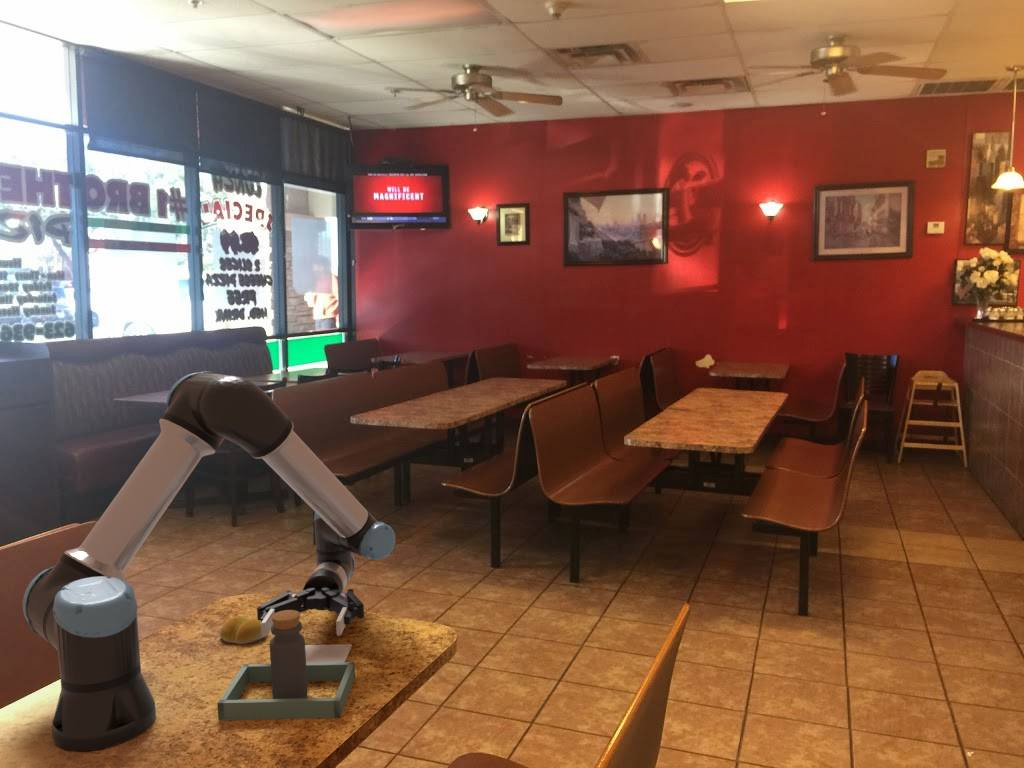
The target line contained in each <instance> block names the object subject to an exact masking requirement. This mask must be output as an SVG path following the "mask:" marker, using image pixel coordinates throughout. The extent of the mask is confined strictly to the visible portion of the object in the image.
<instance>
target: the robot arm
mask: <svg viewBox="0 0 1024 768" xmlns="http://www.w3.org/2000/svg"><path fill="white" fill-rule="evenodd" d="M166 397H167V399H166V410H165V412H164V413H163V415H162V416H161V418H160V419H159V421H158V423H159V427H160V433H159V435H158V436H157V438H156V439H155V440H154V442H153V443H152V445H151V446H150V448H149V449H148V451H146V453H145V454H144V456H143V458H142V459H141V460H140V462H139V463H138V464H137V466H136V467H135V468H134V470H133V472H132V473H131V474H130V476H129V477H128V479H127V480H126V481H125V483H124V484H123V485H122V486H121V489H120V490H119V491H118V492H117V494H116V495H115V497H114V498H113V499H112V501H110V504H109V505H108V507H107V508H106V509H105V511H104V512H103V513H102V515H101V516H100V517H99V519H98V520H97V522H96V523H95V525H94V526H93V527H92V529H91V530H90V532H89V533H88V534H87V536H86V537H85V539H84V540H83V541H82V543H81V544H80V546H78V547H75V548H72V549H68V550H66V551H65V550H64V553H62V555H61V556H60V558H59V559H58V560H57V561H56V564H55V565H54V566H51V567H49V568H46V569H44V570H42V571H41V572H39V573H38V574H37V575H36V576H35V577H34V578H33V579H31V581H30V583H28V586H27V587H26V590H25V592H24V595H23V598H22V610H23V611H22V612H23V614H24V615H23V616H24V618H25V619H26V622H27V623H28V625H29V627H30V629H31V630H32V632H34V633H35V634H36V635H37V636H39V637H41V638H42V639H44V640H45V641H46V642H48V643H49V645H51V646H52V647H53V648H55V649H56V651H57V656H58V664H59V666H58V667H59V676H60V687H61V688H60V694H59V697H58V701H57V704H56V708H55V711H54V715H53V719H52V723H51V730H52V741H53V740H54V741H53V743H54V742H55V743H54V744H55V745H56V744H57V745H56V746H57V747H58V748H60V749H61V748H62V749H64V750H67V751H73V752H74V751H77V752H79V751H80V752H85V751H87V752H88V751H94V750H95V751H96V750H101V749H106V748H110V747H113V746H114V747H115V746H117V745H120V744H122V743H125V742H127V741H130V740H132V739H134V738H136V737H138V736H139V735H141V734H142V733H144V732H145V731H146V730H147V729H149V728H150V727H151V726H152V725H153V723H154V722H155V720H156V716H157V711H156V710H157V709H156V701H155V698H154V697H153V695H152V692H151V691H150V688H149V686H148V684H147V682H146V679H145V678H144V676H143V673H142V668H141V666H142V665H141V655H140V654H141V653H140V651H141V650H140V639H139V625H138V624H139V623H138V603H137V599H136V596H135V590H134V588H133V586H132V585H131V584H130V583H129V582H127V581H126V576H125V571H126V569H127V568H128V566H129V564H130V563H131V562H132V560H133V559H134V557H135V556H136V555H137V553H138V552H139V550H140V548H141V547H142V546H143V544H144V542H145V541H146V540H147V538H148V537H149V535H150V534H151V532H152V531H153V529H154V528H155V526H156V525H157V523H158V522H159V521H160V519H161V518H162V516H163V515H164V513H165V512H166V511H167V509H168V507H169V506H170V505H171V504H172V502H173V500H174V499H175V497H176V496H177V494H178V493H179V491H180V490H181V488H182V487H183V485H184V484H185V482H186V481H188V478H189V477H190V475H191V474H192V472H194V470H195V468H196V467H197V465H198V464H199V462H200V461H201V459H202V458H203V457H206V456H210V455H214V454H215V453H216V452H217V450H218V449H219V448H220V446H221V445H222V443H223V441H224V440H227V441H229V442H231V443H234V444H235V445H237V446H239V447H240V448H242V449H243V450H244V451H246V453H248V454H249V455H250V456H251V458H254V459H258V460H259V459H260V460H261V459H262V460H263V461H264V462H265V463H266V464H267V466H269V467H270V468H271V469H272V470H273V471H274V473H276V474H277V475H278V476H279V477H280V479H282V480H283V481H284V482H285V483H286V484H287V485H288V486H289V487H290V488H291V489H292V491H294V492H295V494H297V495H298V496H299V497H300V498H301V499H302V500H303V502H304V503H306V505H308V506H309V507H310V508H311V510H313V511H314V514H313V515H314V518H313V523H314V535H315V536H314V537H315V538H314V539H315V556H316V557H315V559H316V562H315V563H316V567H315V568H314V569H313V571H312V572H311V574H310V576H309V578H308V579H307V581H306V583H305V584H304V585H303V589H302V591H299V592H298V593H292V590H291V589H288V590H287V589H286V590H285V591H284V592H283V593H281V594H280V595H278V596H276V597H274V598H272V599H270V600H268V601H266V602H265V603H262V604H261V605H258V606H257V607H256V612H257V613H256V617H257V618H256V619H258V620H261V634H262V637H263V638H267V636H268V634H269V633H270V631H271V626H272V625H273V621H272V615H273V614H275V613H277V612H279V611H284V610H295V611H298V612H299V613H300V614H301V613H303V612H306V611H309V610H311V611H312V610H317V611H329V612H330V613H332V612H334V613H336V614H338V616H337V619H336V621H335V623H336V626H335V627H336V636H342V634H343V631H344V629H346V625H351V623H352V621H353V620H354V619H355V618H356V617H357V618H358V619H364V618H365V604H364V603H363V602H362V601H361V600H360V599H359V597H357V596H356V594H355V593H354V592H355V591H354V589H353V588H348V589H347V591H345V589H346V586H347V584H348V582H349V581H350V579H351V578H352V577H353V575H354V574H353V573H354V572H355V566H356V560H355V556H354V554H356V555H359V556H361V557H363V558H364V559H371V560H375V561H381V560H383V559H386V558H387V557H388V556H389V555H390V554H391V553H392V551H393V550H394V547H395V546H396V545H395V544H396V533H395V531H394V529H393V528H392V527H391V526H390V525H388V524H386V523H385V522H383V521H379V520H377V519H376V518H375V517H374V516H373V515H372V514H371V513H370V511H368V510H367V509H366V508H365V507H364V506H363V505H362V504H361V503H360V501H359V500H358V499H357V498H356V497H355V495H354V494H352V493H351V491H349V490H348V488H346V487H347V486H345V485H344V484H343V483H342V482H341V481H340V480H339V479H338V478H337V476H335V474H333V472H332V471H331V470H330V469H329V468H328V466H326V465H325V463H324V462H322V460H321V459H320V458H319V457H318V456H317V455H316V454H315V453H314V451H312V449H310V447H309V446H308V445H307V444H306V443H305V442H304V441H303V440H302V439H301V438H300V436H299V435H298V434H297V433H296V432H295V431H294V427H295V426H294V422H293V421H292V420H291V419H290V417H289V416H288V415H287V414H286V413H285V412H284V411H283V410H282V409H281V408H280V407H279V405H278V404H277V403H276V402H275V401H274V400H273V399H272V398H271V397H270V396H269V395H268V394H267V393H266V392H265V391H264V390H263V389H262V388H260V387H259V386H258V385H257V384H255V383H254V382H253V381H251V380H249V379H247V378H245V377H242V376H237V375H230V374H229V375H228V374H220V373H218V372H215V371H200V372H194V373H190V374H187V375H185V376H182V377H181V378H180V379H178V380H177V381H176V382H175V383H174V384H173V386H172V387H171V388H170V390H169V392H168V395H167V396H166ZM343 592H344V593H343Z"/></svg>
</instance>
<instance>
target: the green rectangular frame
mask: <svg viewBox="0 0 1024 768" xmlns="http://www.w3.org/2000/svg"><path fill="white" fill-rule="evenodd" d="M306 673H307V682H330V681H331V682H332V681H334V682H335V681H338V682H339V681H340V684H339V685H338V689H337V691H336V693H335V696H334V697H310V698H309V697H307V698H297V699H273V698H264V699H263V698H262V699H260V698H258V699H255V698H254V699H239V698H240V697H241V695H242V694H243V692H244V690H245V689H246V687H247V686H248V685H249V683H272V679H271V664H269V663H243V665H242V666H241V668H240V669H239V670H238V672H237V674H235V676H234V678H233V679H232V681H231V683H229V686H228V687H227V688H226V689H225V691H224V693H223V694H222V696H221V697H220V698H219V700H218V701H217V716H218V717H217V718H218V721H250V720H251V721H255V720H259V721H261V720H296V719H297V720H301V719H302V720H303V719H304V720H305V719H306V720H307V719H341V717H342V715H343V711H344V709H345V706H346V704H347V701H348V698H349V696H350V693H351V691H352V687H353V685H354V682H355V679H356V662H355V661H346V662H324V663H306Z"/></svg>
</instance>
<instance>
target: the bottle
mask: <svg viewBox="0 0 1024 768" xmlns="http://www.w3.org/2000/svg"><path fill="white" fill-rule="evenodd" d="M300 617H301V613H300V612H298V611H295V610H284V611H279V612H277V613H275V614H273V615H272V621H273V625H272V626H271V630H270V631H271V633H270V634H272V635H274V636H273V637H272V638H271V639H270V641H269V655H270V656H269V657H270V659H269V660H270V662H271V679H272V682H271V690H272V691H271V692H272V694H271V695H272V699H297V698H308V681H307V673H306V653H305V645H306V639H305V636H304V635H303V634H302V633H300V632H301V631H302V629H303V624H302V621H300Z"/></svg>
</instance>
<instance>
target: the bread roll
mask: <svg viewBox="0 0 1024 768" xmlns="http://www.w3.org/2000/svg"><path fill="white" fill-rule="evenodd" d="M219 636H220V638H221V639H222V640H223V641H224V642H226V643H231V644H234V643H235V644H237V645H246V644H250V643H254V642H257V641H260V640H262V639H263V638H264V637H262V634H261V620H258V618H255V617H254V618H248V617H246V616H242V615H238V616H233V617H231V618H229V619H228V620H227V621H226V622H224V624H222V625H221V627H220V628H219Z"/></svg>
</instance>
